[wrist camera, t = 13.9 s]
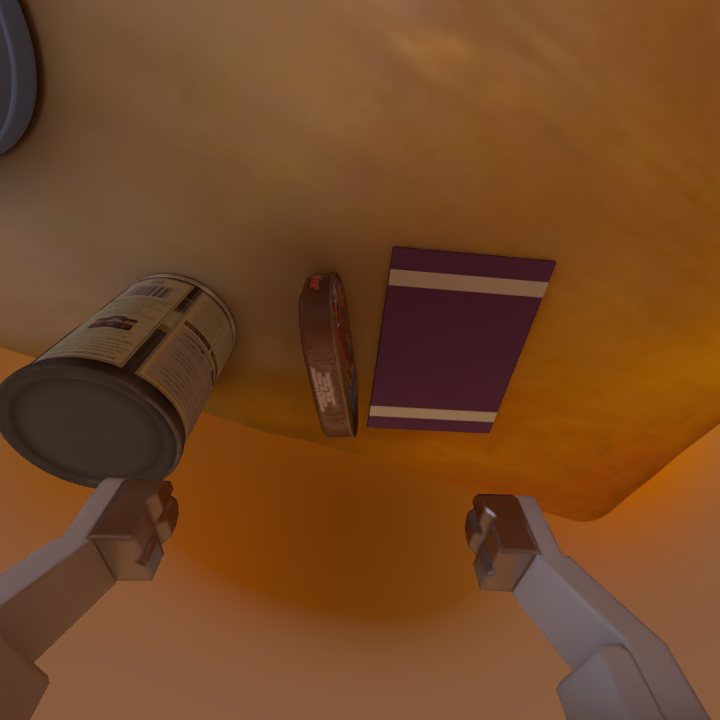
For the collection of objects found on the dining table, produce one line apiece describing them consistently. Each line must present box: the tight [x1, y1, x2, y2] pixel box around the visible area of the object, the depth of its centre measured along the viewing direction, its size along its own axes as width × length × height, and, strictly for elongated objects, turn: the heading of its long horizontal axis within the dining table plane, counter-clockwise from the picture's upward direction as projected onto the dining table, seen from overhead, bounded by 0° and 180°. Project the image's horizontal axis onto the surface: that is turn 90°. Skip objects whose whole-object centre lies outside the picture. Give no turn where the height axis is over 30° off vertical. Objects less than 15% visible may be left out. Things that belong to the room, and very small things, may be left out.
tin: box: [299, 272, 358, 438], centre depth 31 cm, size 15×3×8 cm, turn 6°
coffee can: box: [0, 274, 236, 488], centre depth 28 cm, size 10×10×14 cm
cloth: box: [367, 247, 556, 433], centre depth 36 cm, size 14×20×1 cm
